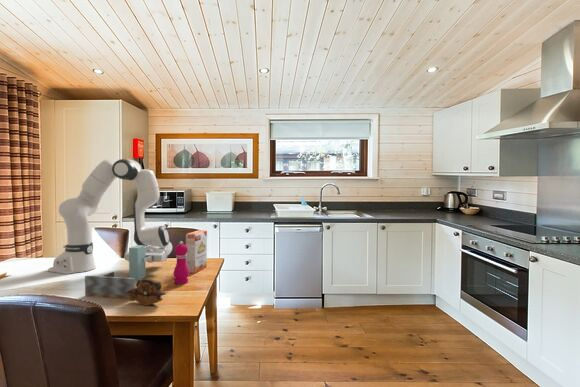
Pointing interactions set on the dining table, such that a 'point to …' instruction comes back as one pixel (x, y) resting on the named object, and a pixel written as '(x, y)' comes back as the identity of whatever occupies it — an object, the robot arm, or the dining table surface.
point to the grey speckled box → (109, 286)
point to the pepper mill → (181, 264)
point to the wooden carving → (146, 292)
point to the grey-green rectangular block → (137, 262)
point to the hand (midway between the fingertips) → (136, 260)
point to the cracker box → (196, 250)
